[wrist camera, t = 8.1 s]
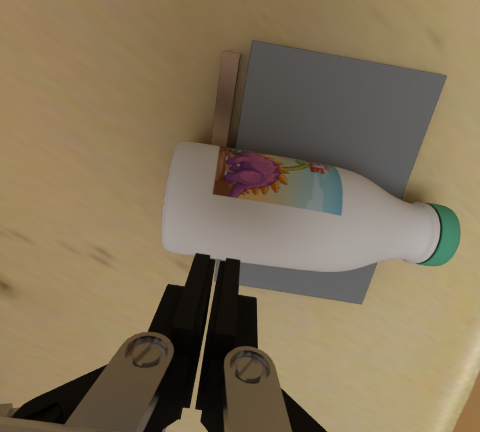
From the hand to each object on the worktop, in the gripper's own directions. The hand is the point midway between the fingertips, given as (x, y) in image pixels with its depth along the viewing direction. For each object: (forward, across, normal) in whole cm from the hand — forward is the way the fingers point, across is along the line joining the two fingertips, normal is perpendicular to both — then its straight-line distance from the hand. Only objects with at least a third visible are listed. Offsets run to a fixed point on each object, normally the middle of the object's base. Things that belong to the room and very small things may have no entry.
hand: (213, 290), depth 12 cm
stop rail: (+16, +2, 0) cm, 16 cm away
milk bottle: (+11, +4, +1) cm, 12 cm away
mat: (+16, -7, 0) cm, 17 cm away
